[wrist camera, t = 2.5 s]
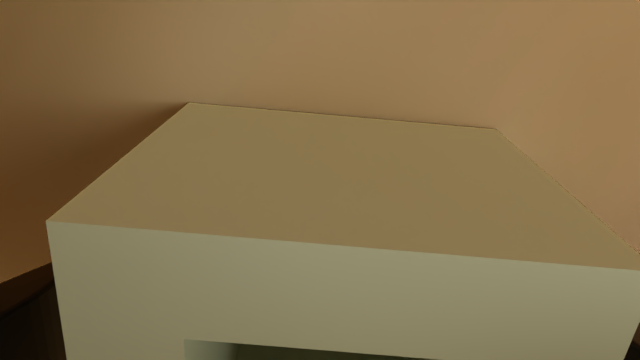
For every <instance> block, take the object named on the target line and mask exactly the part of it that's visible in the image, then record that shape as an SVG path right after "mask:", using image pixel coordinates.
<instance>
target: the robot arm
mask: <svg viewBox="0 0 640 360" xmlns="http://www.w3.org/2000/svg"><path fill="white" fill-rule="evenodd" d="M0 360H67V358H66V351H65V344H64V338H63V331H62V325H61V318H60V312H59V305H58V299H57V292H56V286H55V279H54V273H53V266H52V262H51V263H49V264H46V265H44V266H41V267H39V268H37V269H34V270H32V271H29V272H27V273H24V274H22V275H20V276H17V277H15V278H12V279H10V280H7V281H5V282H3V283H0ZM624 360H640V322H639V324H638V327H637V329H636V331H635V334H634V336H633V339H632V341H631V343H630V346H629V348H628V351H627V353H626V355H625V358H624Z"/></svg>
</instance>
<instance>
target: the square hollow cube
mask: <svg viewBox="0 0 640 360" xmlns="http://www.w3.org/2000/svg"><path fill="white" fill-rule="evenodd" d="M46 227H47V233H48V240H49V246H50V253H51V260H52V266H53V273H54V279H55V286H56V292H57V299H58V305H59V312H60V318H61V325H62V331H63V338H64V344H65V351H66V358H67V360H624V358H625V355H626V353H627V351H628V348H629V346H630V343H631V341H632V339H633V336H634V334H635V331H636V329H637V327H638V324H639V322H640V254H639V253H638V252H636V251H635V250H634V249H633V248H632V247H631V246H629V245H628V244H627V243H626V242H625V241H624V240H623V239H621V238H620V237H619V236H618V235H617V234H616V233H615V232H613V231H612V230H611V229H610V228H609V227H608V226H607V225H605V224H604V223H603V222H602V221H601V220H600V219H599V218H597V217H596V216H595V215H594V214H593V213H592V212H590V211H589V210H588V209H587V208H586V207H585V206H584V205H582V204H581V203H580V202H579V201H578V200H577V199H576V198H574V197H573V196H572V195H571V194H570V193H569V192H568V191H566V190H565V189H564V188H563V187H562V186H561V185H560V184H558V183H557V182H556V181H555V180H554V179H553V178H551V177H550V176H549V175H548V174H547V173H546V172H545V171H543V170H542V169H541V168H540V167H539V166H538V165H537V164H535V163H534V162H533V161H532V160H531V159H530V158H529V157H527V156H526V155H525V154H524V153H523V152H522V151H521V150H519V149H518V148H517V147H516V146H515V145H514V144H513V143H511V142H510V141H509V140H508V139H507V138H506V137H504V136H503V135H502V134H501V133H500V132H499V131H498V130H496V129H488V128H477V127H465V126H454V125H442V124H431V123H419V122H408V121H396V120H385V119H373V118H361V117H350V116H338V115H327V114H315V113H304V112H292V111H281V110H269V109H258V108H246V107H235V106H223V105H212V104H200V103H188V104H186V105H185V106H184V107H183V108H182V109H180V110H179V111H178V112H177V113H176V114H174V115H173V116H172V117H171V118H170V119H168V120H167V121H166V122H165V123H163V124H162V125H161V126H160V127H159V128H157V129H156V130H155V131H154V132H153V133H151V134H150V135H149V136H148V137H147V138H145V139H144V140H143V141H142V142H140V143H139V144H138V145H137V146H136V147H134V148H133V149H132V150H131V151H130V152H128V153H127V154H126V155H125V156H124V157H122V158H121V159H120V160H119V161H117V162H116V163H115V164H114V165H113V166H111V167H110V168H109V169H108V170H107V171H105V172H104V173H103V174H102V175H101V176H99V177H98V178H97V179H96V180H94V181H93V182H92V183H91V184H90V185H88V186H87V187H86V188H85V189H84V190H82V191H81V192H80V193H79V194H78V195H76V196H75V197H74V198H73V199H71V200H70V201H69V202H68V203H67V204H65V205H64V206H63V207H62V208H61V209H59V210H58V211H57V212H56V213H55V214H53V215H52V216H51V217H50V218H49V219H47V220H46Z"/></svg>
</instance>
